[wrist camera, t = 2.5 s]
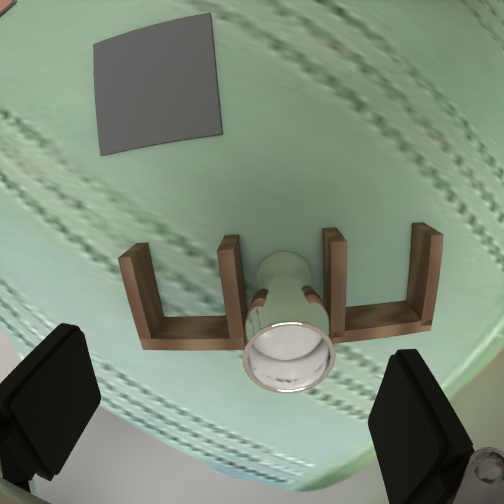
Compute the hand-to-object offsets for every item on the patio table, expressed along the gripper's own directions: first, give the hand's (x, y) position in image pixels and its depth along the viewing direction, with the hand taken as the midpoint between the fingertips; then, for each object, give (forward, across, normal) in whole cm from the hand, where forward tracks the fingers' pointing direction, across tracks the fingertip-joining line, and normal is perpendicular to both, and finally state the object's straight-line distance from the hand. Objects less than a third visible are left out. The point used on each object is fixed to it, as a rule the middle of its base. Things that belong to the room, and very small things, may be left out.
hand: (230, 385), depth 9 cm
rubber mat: (+26, +12, -14) cm, 32 cm away
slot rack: (+26, -3, +7) cm, 27 cm away
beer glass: (+26, -3, +7) cm, 27 cm away
